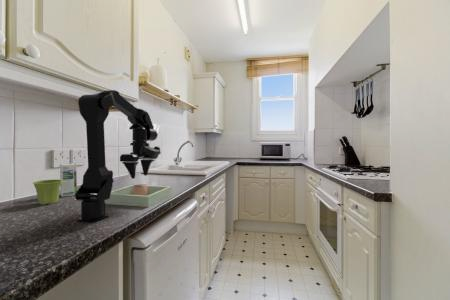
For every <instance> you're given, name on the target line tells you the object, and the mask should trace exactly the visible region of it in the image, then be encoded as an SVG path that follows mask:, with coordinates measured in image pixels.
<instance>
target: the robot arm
mask: <svg viewBox="0 0 450 300" xmlns="http://www.w3.org/2000/svg"><path fill="white" fill-rule="evenodd" d="M77 103H78V104H77V105H78V108H79V109H78V110H79V114H80V116H81V117H82V119H83V120H84V122H85V125H86V128H85V129H86V143H87V145H86V147H87V148H86V150H87V151H86V152H87V168H86V170H85V172H84V174H83V176H82V177H83V178H82V183H81V185H80V187H78V189H77V192H76V193H75V195H74V197H75V199H76V200H75V201H81V200H83V201H81V202H80V205H81V206H80V207H81V209H80V211H81V217H79V218H76V221H78V222H88V223H96V222H99V221H100V220H101V221H102V220H103V219H105V218H108V217H109V215H110V214H107V213H106V204H105V200H107V199H109V198H110V194H111V191H113V190H112V189H113V183H114V182H115V181H114V178H113V177H114V172H113V170H109V169H108V167H107V166H106V144H105V143H106V141H105V121H106V120H107V118H108V116H109V113H110V108H111V107H114V108H115V109H116V110H117V111H119V112H120V113H122V114H123V115H124V116H126V118H127V120H128V121H129V123H130V124H131V126H129V130H132V131H131V133H132V135H131V136H132V141H131V142H130V146H132V152H130V153H123V154H121V155H120V156H119V162H121V163H122V164H123V165H124V167H125V168H126V169H127V172H128V174H129V176H130V178H131V179H135V178H136V172H137V171H136V169H137V165H138V164H139V160H140V164H141V167H142V171H143V175H144V176H147V175H148V173H149V170H150V167H151V164H152V163H153V162H155V161H156V160H157V159H158V158H159V155H161V147H160V146H154V147H151V146H150V143H149V142H150V141H151V142H154V141H155V140H156V139H157V138H158V132H157V130H156V129H155V128H154V125H153V121H152V119H151V116H150V114H149V112H148V111H146V110H144V109H142V108H138V107H136V106H134V104H132V103H131V102H130V101H129V100H127V99H126V98H125V97H123V96H122V95H121V94H120V92H119V91H118V90H115V89H112V90H109V89H108V90H103V91H101V92H97V93H93V94H83V95H81V96H79V98H78V101H77ZM147 141H148V142H147ZM95 194H97V195H95Z"/></svg>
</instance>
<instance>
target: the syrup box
mask: <svg viewBox="0 0 450 300" xmlns="http://www.w3.org/2000/svg"><path fill="white" fill-rule="evenodd" d="M59 180H62V182H61V185H60V190H59V192H60V196H61V198H64V197H71V196H75V193H76V192H77V191H78V189H77V188H78V186H77V185H78V183H77V163H72V162H71V163H60V164H59Z"/></svg>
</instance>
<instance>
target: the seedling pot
mask: <svg viewBox="0 0 450 300" xmlns="http://www.w3.org/2000/svg"><path fill="white" fill-rule="evenodd" d="M132 185H133V186H132V195H143V196H148V194H147V185H148V184H145V183H144V184H142V183H139V184H132Z"/></svg>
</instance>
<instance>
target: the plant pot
mask: <svg viewBox="0 0 450 300" xmlns="http://www.w3.org/2000/svg"><path fill="white" fill-rule="evenodd" d="M61 182H62V180H60V179H44V180H38V181H34V182H32V185H34V188H35V191H36V195H37V201H38V205H42V206H45V205H46V204H51V205H53V204H55V203H58V202H59V198H60V197H59V196H60V185H61Z"/></svg>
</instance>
